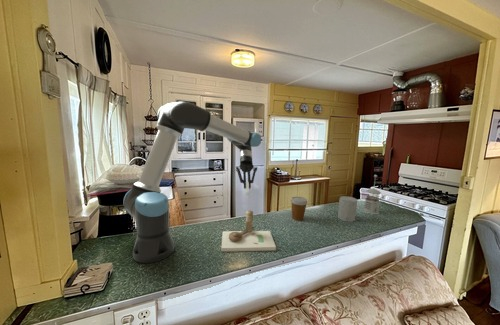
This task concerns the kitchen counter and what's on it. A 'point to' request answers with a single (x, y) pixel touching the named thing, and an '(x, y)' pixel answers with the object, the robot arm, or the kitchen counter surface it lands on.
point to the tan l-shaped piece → (238, 236)
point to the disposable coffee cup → (298, 208)
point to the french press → (372, 201)
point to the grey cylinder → (347, 208)
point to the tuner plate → (249, 242)
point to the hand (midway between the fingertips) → (247, 193)
